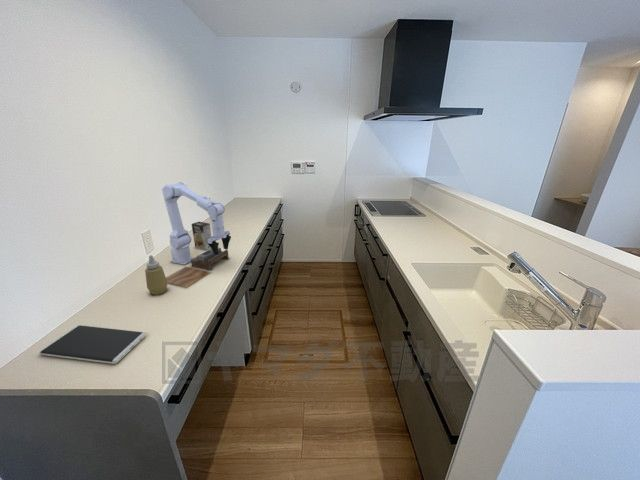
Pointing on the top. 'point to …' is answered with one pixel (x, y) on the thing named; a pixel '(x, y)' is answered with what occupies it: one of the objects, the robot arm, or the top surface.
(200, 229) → the coffee box
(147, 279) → the squeeze bottle
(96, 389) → the top surface
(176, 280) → the mat
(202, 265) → the shelf
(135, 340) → the black flat slab
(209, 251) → the remote
